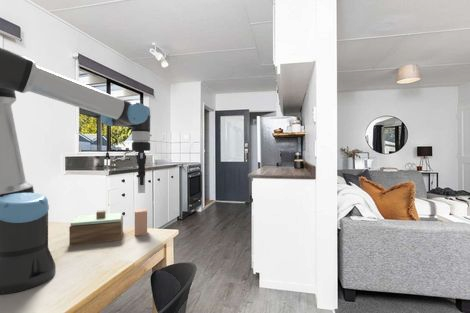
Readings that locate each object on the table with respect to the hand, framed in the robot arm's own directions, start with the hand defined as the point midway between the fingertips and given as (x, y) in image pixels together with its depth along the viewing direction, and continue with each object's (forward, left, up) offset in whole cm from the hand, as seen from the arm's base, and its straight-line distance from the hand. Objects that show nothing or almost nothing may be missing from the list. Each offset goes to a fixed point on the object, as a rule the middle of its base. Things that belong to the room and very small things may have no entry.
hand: (141, 190), depth 111 cm
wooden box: (0, +17, -19) cm, 25 cm away
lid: (0, +17, -11) cm, 20 cm away
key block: (0, 0, -19) cm, 19 cm away
